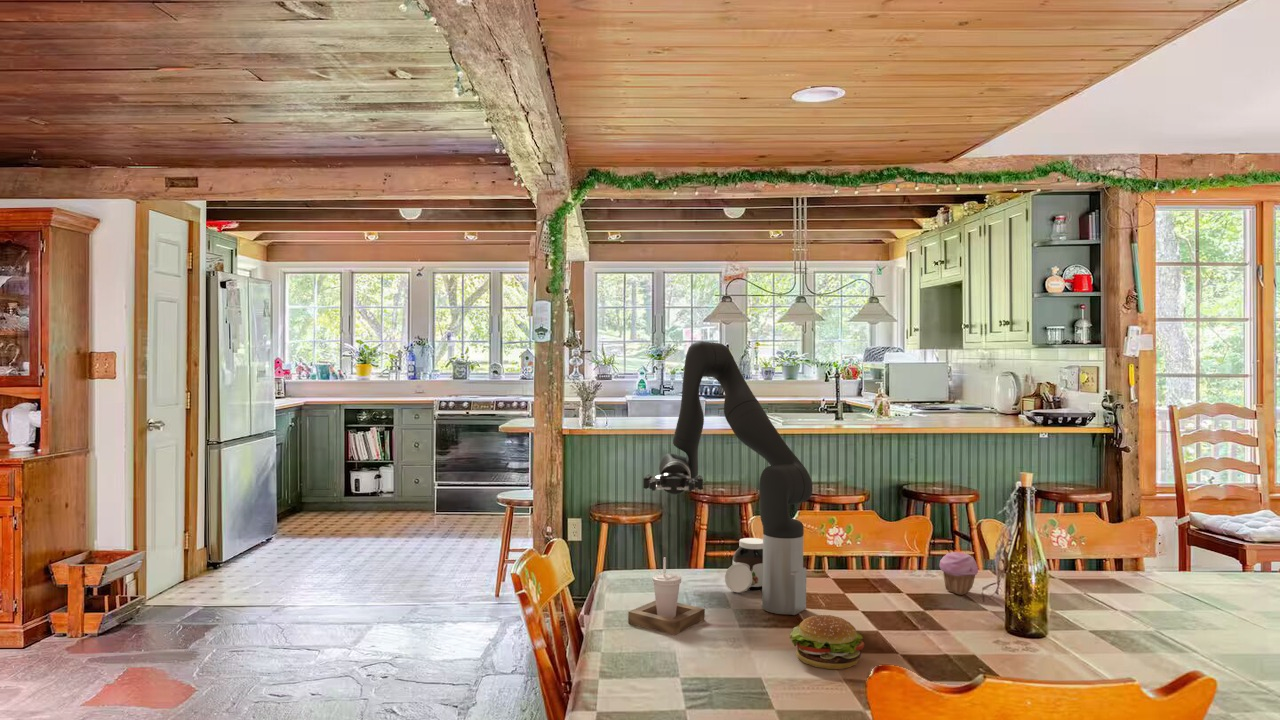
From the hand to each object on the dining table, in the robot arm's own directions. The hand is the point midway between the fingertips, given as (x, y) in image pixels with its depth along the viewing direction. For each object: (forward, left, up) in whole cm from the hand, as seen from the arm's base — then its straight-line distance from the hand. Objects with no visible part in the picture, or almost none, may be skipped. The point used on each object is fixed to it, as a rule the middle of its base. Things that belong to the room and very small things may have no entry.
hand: (671, 486), depth 186 cm
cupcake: (-51, -54, -28) cm, 79 cm away
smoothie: (-5, +10, -28) cm, 30 cm away
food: (-41, +9, -28) cm, 51 cm away
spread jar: (-7, -24, -28) cm, 38 cm away
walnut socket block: (-6, +10, -28) cm, 30 cm away
